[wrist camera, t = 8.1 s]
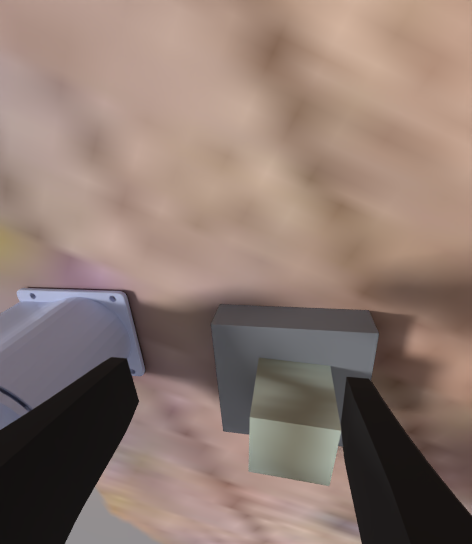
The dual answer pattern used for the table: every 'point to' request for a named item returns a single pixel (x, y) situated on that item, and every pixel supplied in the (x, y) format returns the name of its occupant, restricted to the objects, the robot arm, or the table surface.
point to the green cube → (294, 421)
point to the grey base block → (286, 350)
